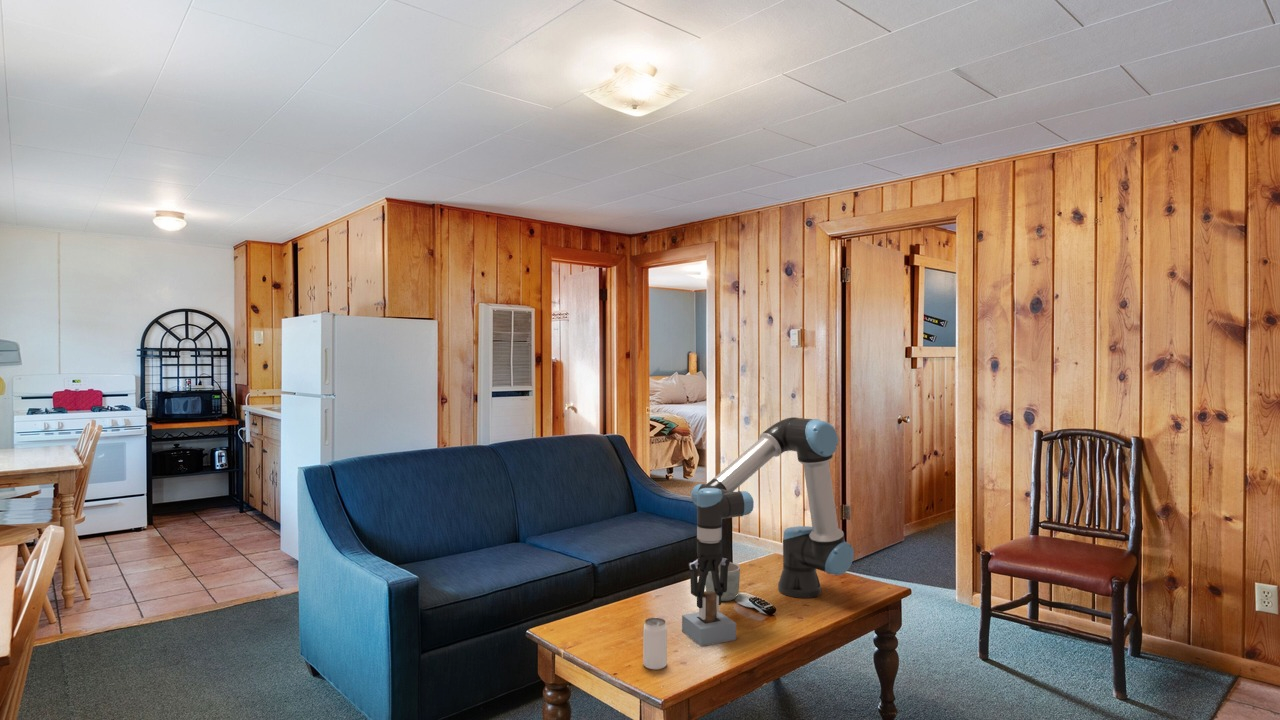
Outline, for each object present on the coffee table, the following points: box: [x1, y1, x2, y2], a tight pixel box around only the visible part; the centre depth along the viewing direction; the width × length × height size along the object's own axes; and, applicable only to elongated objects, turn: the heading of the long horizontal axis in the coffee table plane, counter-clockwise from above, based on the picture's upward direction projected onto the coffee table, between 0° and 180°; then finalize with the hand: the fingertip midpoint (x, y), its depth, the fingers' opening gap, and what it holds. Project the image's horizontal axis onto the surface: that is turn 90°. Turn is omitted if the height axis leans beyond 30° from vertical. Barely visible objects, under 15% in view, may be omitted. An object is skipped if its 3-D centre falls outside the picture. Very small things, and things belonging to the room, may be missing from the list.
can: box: [642, 617, 668, 671], centre depth 188 cm, size 6×6×12 cm
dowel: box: [702, 590, 716, 624], centre depth 208 cm, size 4×4×12 cm
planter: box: [705, 561, 741, 602], centre depth 242 cm, size 12×12×11 cm
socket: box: [681, 611, 737, 647], centre depth 208 cm, size 12×12×5 cm
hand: (708, 616), depth 208 cm, fingers closed on dowel, 4 cm apart
